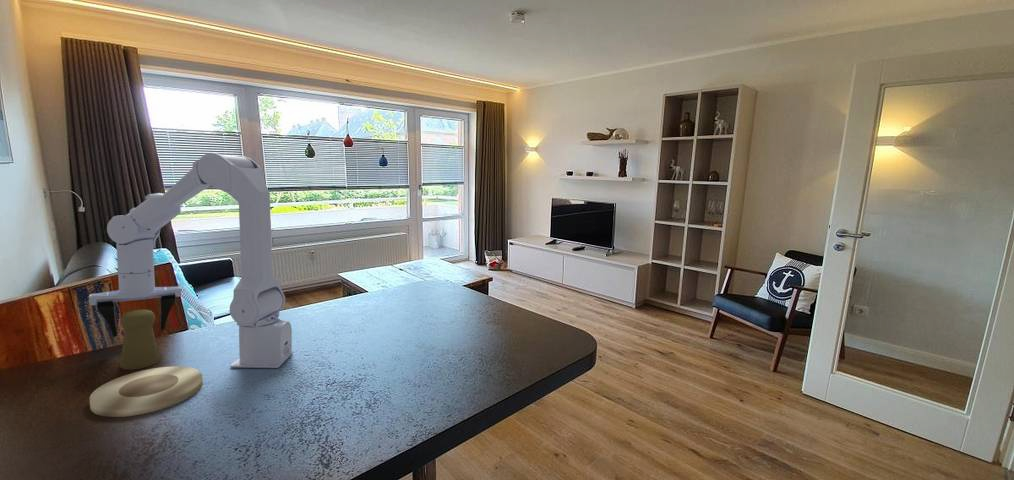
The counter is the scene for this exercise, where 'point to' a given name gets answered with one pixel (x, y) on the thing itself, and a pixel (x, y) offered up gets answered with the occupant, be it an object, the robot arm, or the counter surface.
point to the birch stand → (145, 391)
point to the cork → (138, 340)
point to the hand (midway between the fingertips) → (139, 331)
